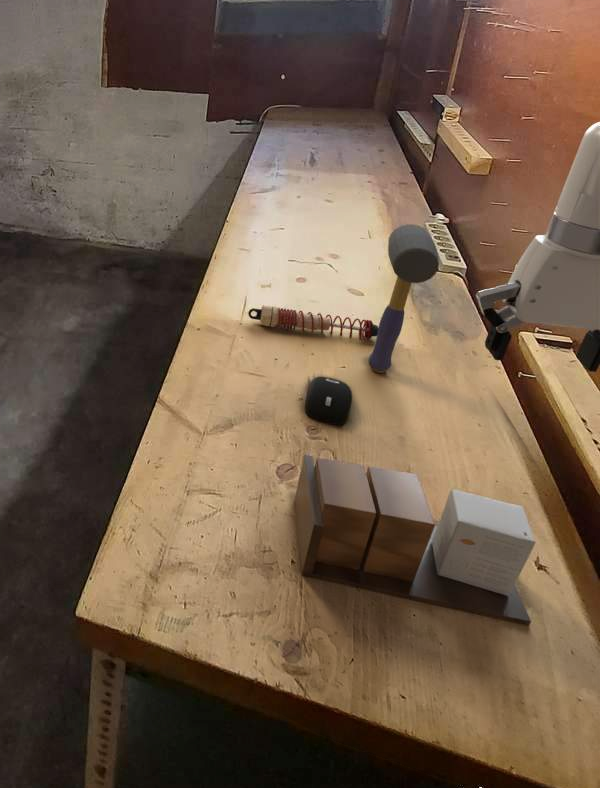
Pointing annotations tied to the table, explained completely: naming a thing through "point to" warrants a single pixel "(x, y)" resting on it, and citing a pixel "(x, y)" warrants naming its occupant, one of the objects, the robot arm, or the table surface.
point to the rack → (381, 538)
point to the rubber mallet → (403, 285)
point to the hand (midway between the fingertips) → (538, 359)
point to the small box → (482, 541)
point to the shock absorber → (309, 321)
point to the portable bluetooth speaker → (328, 400)
